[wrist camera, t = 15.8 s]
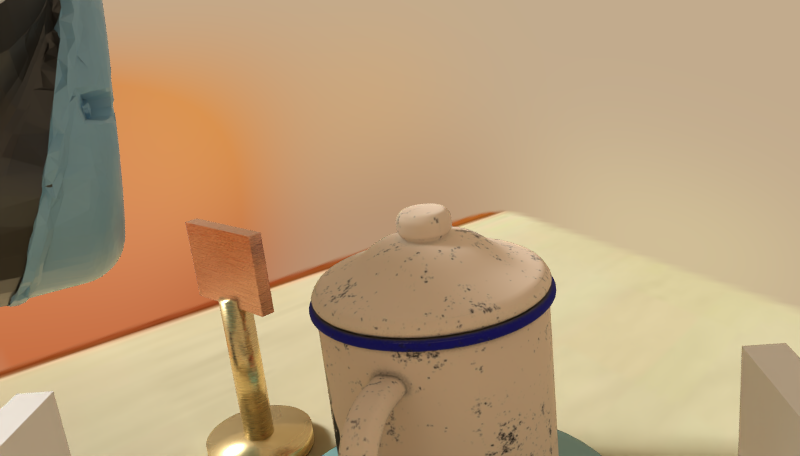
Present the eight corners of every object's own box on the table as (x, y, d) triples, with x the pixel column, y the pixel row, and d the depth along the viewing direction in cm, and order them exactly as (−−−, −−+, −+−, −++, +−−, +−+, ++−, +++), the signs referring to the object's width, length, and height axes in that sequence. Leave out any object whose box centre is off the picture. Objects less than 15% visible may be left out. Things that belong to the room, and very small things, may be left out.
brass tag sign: (189, 455, 36) (141, 235, 33) (272, 409, 40) (236, 206, 36) (249, 493, 33) (202, 252, 30) (335, 439, 36) (301, 218, 33)
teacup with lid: (393, 414, 36) (364, 178, 33) (585, 438, 32) (574, 176, 29) (254, 596, 26) (189, 279, 22) (513, 663, 22) (482, 295, 19)
